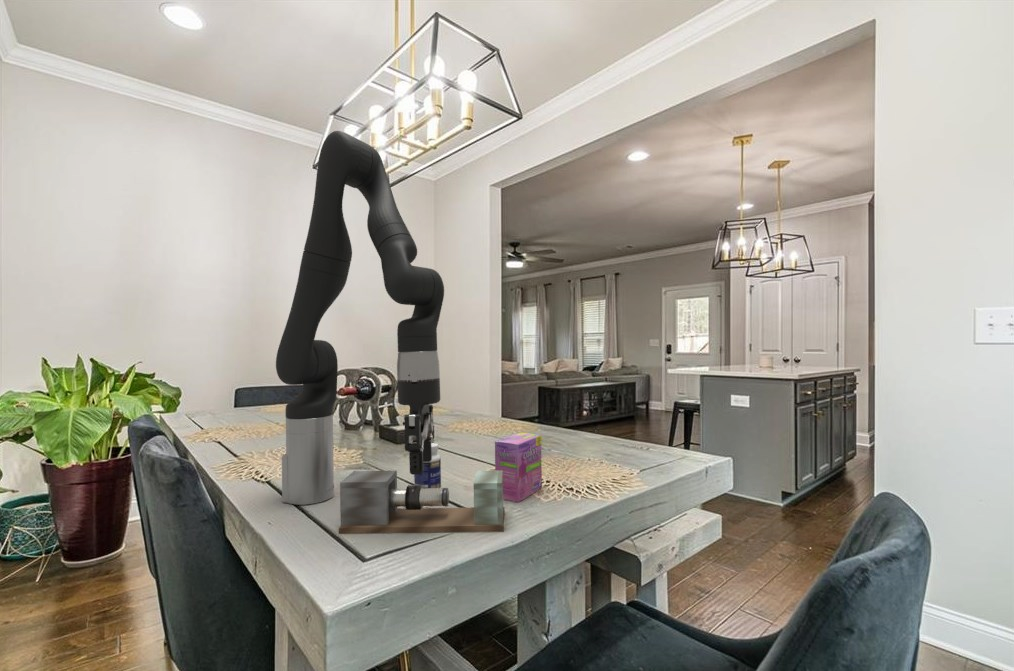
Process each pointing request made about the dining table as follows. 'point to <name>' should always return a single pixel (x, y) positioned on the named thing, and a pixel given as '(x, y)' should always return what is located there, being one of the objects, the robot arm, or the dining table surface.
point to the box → (519, 465)
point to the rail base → (372, 514)
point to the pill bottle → (430, 471)
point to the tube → (418, 497)
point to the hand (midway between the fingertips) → (421, 467)
